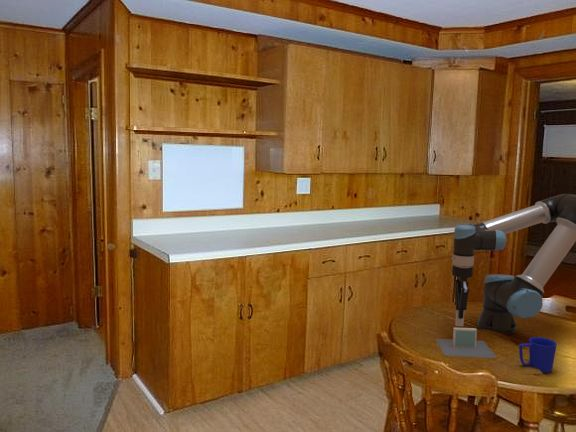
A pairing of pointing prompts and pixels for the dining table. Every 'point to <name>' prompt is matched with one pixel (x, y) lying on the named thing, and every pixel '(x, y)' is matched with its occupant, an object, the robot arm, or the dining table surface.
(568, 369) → the dining table surface
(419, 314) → the dining table surface
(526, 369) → the dining table surface
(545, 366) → the mug
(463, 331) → the tile
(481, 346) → the board
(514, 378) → the dining table surface
